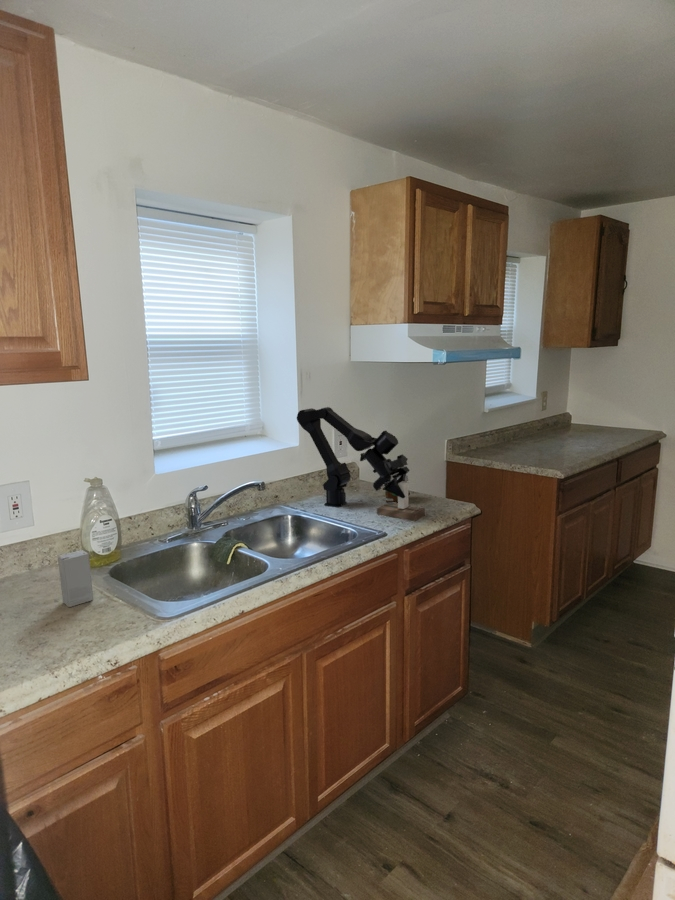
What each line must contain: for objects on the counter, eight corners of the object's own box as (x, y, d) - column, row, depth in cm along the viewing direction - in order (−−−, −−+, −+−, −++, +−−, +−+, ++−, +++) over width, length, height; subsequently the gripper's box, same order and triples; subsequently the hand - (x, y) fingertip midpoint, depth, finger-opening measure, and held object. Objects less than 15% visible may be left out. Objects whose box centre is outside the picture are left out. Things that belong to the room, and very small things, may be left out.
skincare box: (87, 595, 147) (83, 548, 145) (94, 600, 144) (90, 553, 141) (61, 602, 143) (56, 554, 141) (68, 608, 140) (63, 559, 137)
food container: (397, 505, 223) (397, 479, 221) (383, 503, 227) (383, 477, 225) (414, 498, 233) (414, 473, 231) (400, 496, 237) (400, 471, 235)
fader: (397, 508, 210) (398, 483, 208) (402, 505, 213) (402, 481, 211) (404, 509, 208) (404, 484, 207) (408, 506, 211) (408, 482, 210)
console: (376, 514, 212) (376, 507, 212) (387, 509, 219) (387, 502, 218) (415, 520, 204) (415, 513, 204) (424, 515, 211) (425, 508, 210)
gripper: (381, 452, 201) (410, 488, 197) (405, 444, 216) (432, 477, 213) (360, 472, 206) (389, 508, 203) (385, 463, 222) (412, 495, 218)
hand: (406, 496), depth 209 cm, fingers closed on fader, 3 cm apart
